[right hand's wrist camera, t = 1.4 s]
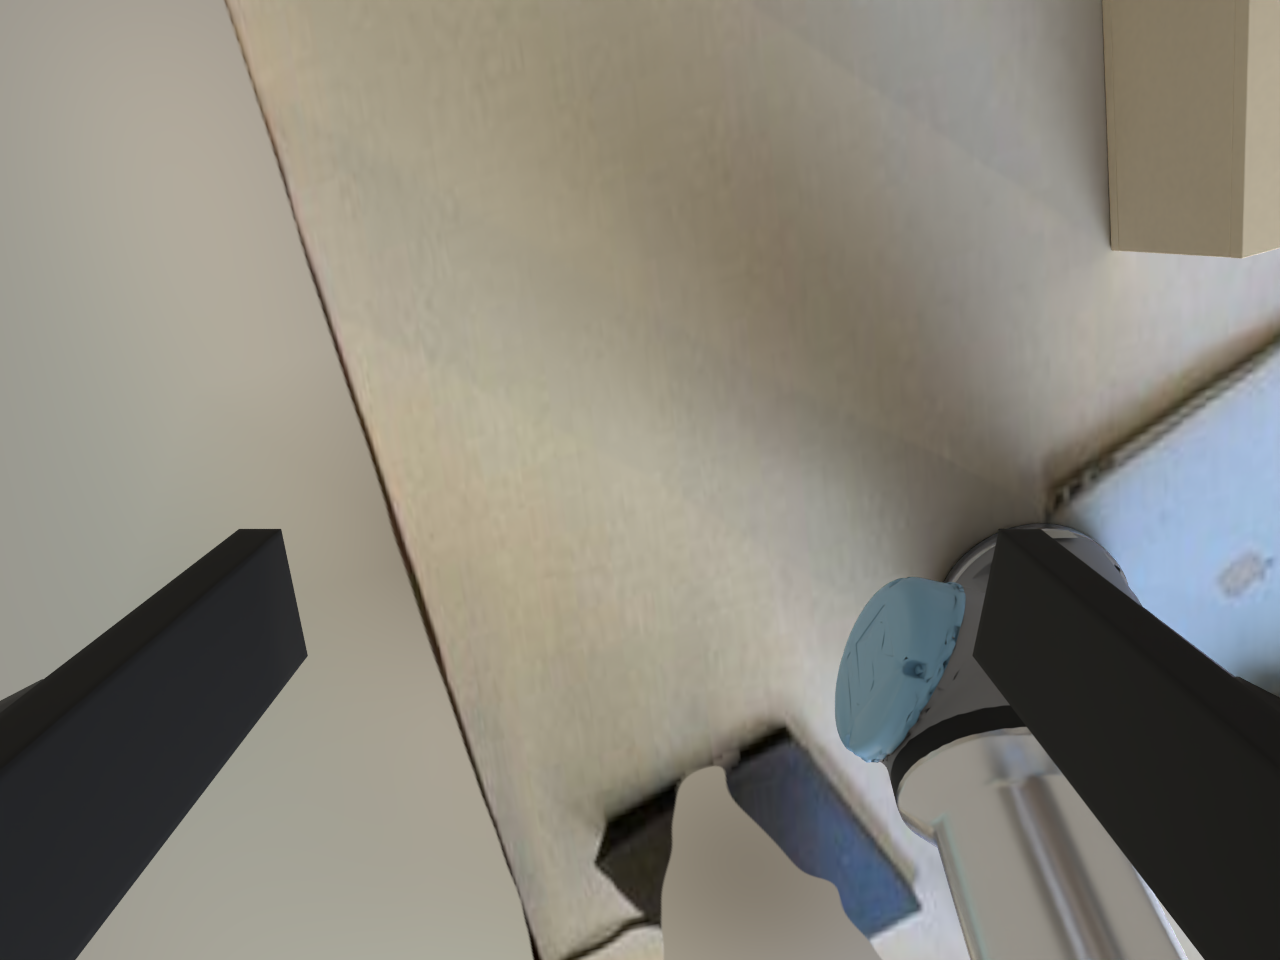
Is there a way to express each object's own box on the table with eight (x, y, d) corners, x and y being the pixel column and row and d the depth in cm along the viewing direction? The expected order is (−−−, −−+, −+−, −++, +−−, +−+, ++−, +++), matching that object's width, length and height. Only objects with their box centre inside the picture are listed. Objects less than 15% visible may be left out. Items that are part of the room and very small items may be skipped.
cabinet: (1099, -65, 42) (1253, -163, 32) (1267, -121, 41) (1485, -241, 31) (1111, 250, 49) (1242, 258, 38) (1256, 209, 48) (1432, 206, 37)
